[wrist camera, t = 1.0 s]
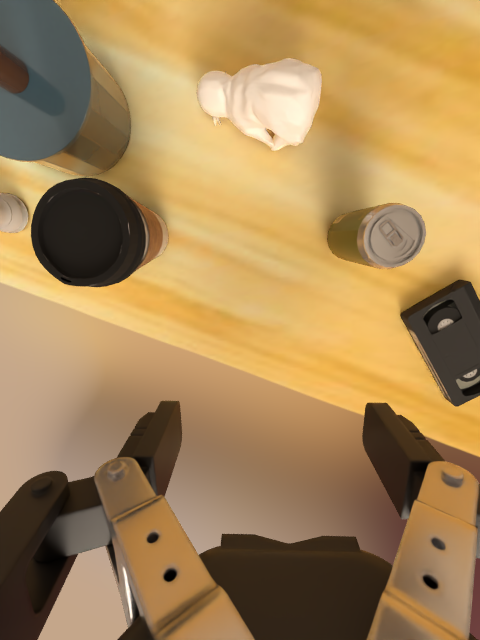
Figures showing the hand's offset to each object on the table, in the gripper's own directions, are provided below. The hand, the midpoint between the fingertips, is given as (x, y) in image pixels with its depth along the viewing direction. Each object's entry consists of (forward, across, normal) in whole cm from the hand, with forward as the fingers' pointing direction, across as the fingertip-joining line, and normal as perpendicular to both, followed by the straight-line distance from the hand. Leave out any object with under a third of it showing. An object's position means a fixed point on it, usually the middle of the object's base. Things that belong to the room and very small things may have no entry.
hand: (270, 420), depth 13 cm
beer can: (+27, -11, -7) cm, 30 cm away
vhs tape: (+27, -25, +6) cm, 37 cm away
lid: (+17, +20, -20) cm, 33 cm away
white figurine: (+27, 0, -20) cm, 34 cm away
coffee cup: (+27, +14, -8) cm, 31 cm away
